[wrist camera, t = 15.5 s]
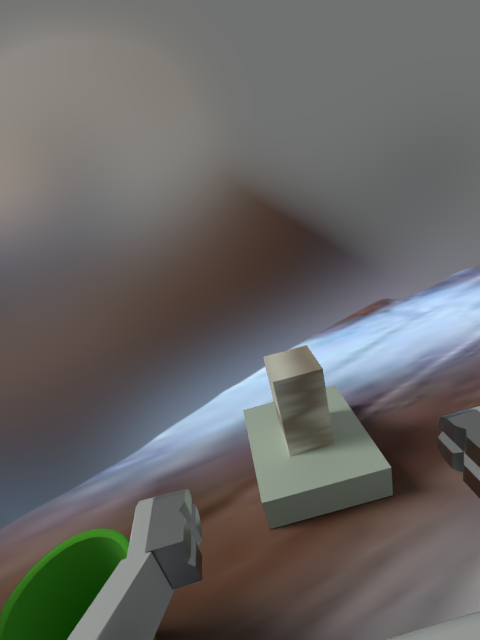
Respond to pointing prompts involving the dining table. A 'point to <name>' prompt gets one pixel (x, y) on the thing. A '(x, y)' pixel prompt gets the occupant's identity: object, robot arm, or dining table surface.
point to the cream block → (300, 399)
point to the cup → (62, 586)
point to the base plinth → (315, 466)
